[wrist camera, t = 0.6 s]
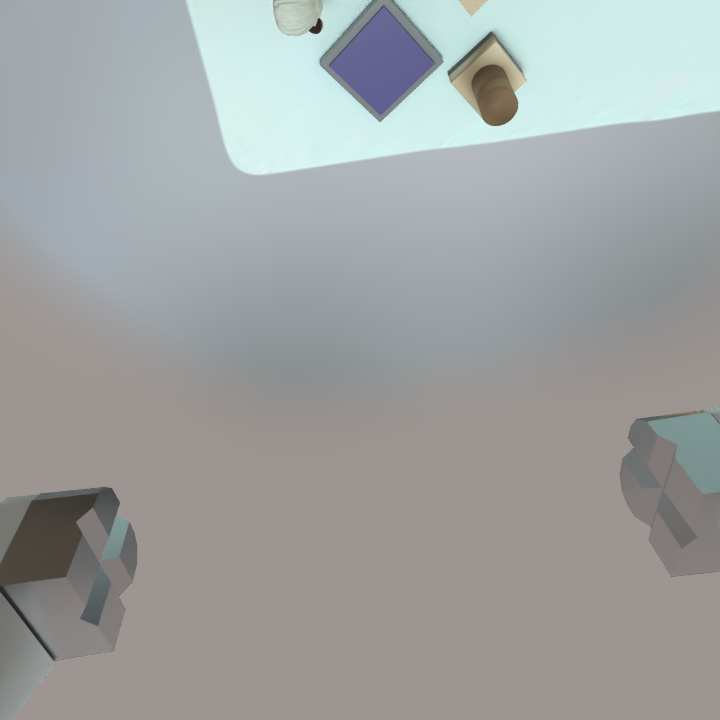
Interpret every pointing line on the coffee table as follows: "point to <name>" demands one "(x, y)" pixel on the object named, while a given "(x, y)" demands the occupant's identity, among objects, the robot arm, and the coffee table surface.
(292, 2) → the grandmother figurine
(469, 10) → the card sheet
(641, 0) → the coffee table surface
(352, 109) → the coffee table surface
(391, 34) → the ink pad
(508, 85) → the stamp
